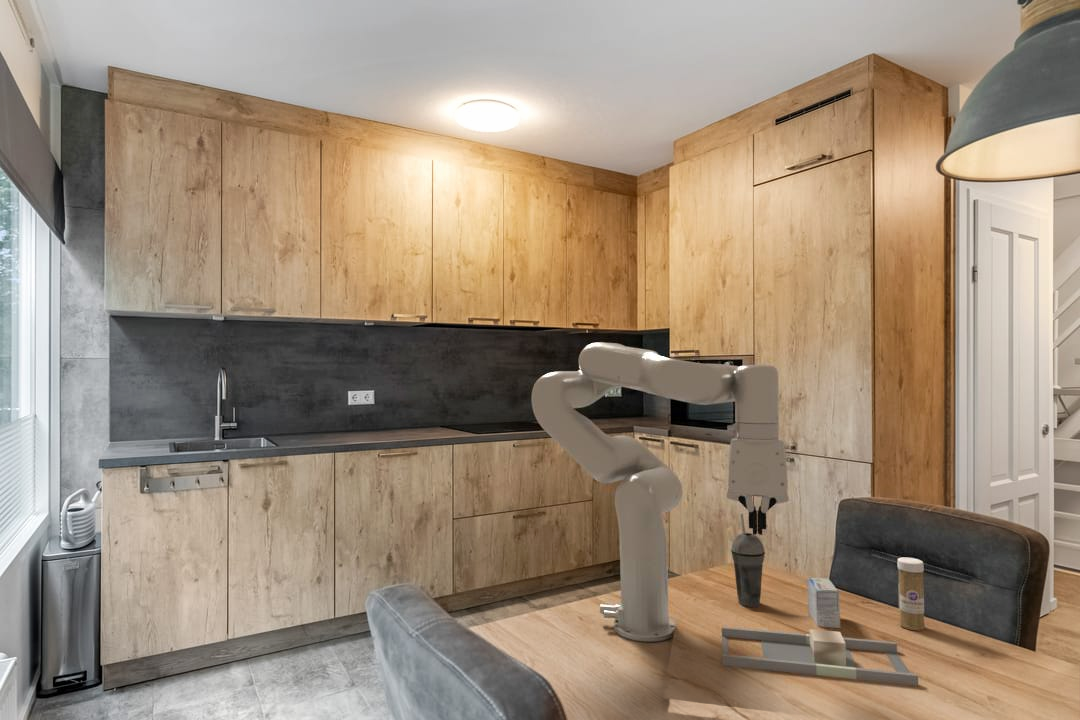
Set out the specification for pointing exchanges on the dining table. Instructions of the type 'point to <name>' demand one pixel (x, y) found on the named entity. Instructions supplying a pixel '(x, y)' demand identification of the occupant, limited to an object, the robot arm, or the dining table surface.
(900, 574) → the sprinkles bottle
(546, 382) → the robot arm
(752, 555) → the beverage cup
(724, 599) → the dining table surface
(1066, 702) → the dining table surface
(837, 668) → the track
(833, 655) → the cream block
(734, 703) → the dining table surface
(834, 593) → the medicine box
